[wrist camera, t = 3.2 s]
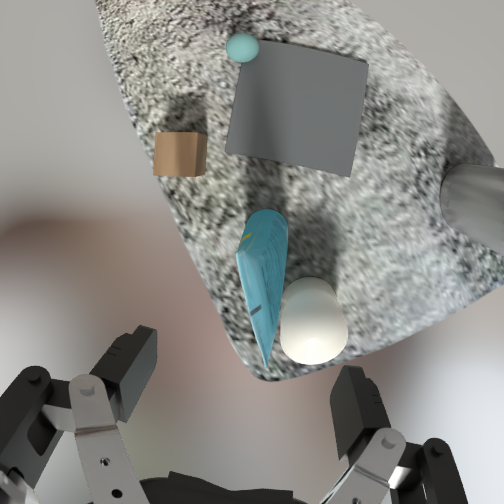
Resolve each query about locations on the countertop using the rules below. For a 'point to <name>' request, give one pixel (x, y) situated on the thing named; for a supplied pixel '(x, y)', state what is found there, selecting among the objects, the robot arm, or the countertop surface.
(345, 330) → the white rounded cylinder
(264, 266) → the tube
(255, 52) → the teal ball
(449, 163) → the countertop surface
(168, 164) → the walnut block
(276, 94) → the plate
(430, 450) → the robot arm
